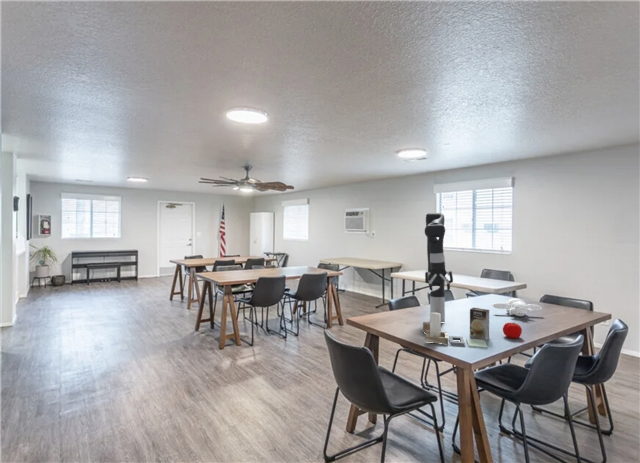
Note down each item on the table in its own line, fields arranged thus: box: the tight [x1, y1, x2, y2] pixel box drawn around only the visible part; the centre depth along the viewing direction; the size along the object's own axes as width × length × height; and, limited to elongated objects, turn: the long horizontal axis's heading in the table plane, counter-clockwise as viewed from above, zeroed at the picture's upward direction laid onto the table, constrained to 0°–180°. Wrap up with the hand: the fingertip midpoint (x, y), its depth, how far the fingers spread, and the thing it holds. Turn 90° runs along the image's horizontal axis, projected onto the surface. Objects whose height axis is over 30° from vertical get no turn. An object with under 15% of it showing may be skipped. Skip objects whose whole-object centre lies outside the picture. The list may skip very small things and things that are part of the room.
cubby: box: [425, 331, 449, 345], centre depth 192 cm, size 12×11×4 cm
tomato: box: [502, 322, 523, 339], centre depth 198 cm, size 9×10×8 cm
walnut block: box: [422, 321, 430, 333], centre depth 207 cm, size 4×4×6 cm
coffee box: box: [469, 307, 490, 341], centre depth 197 cm, size 9×6×16 cm
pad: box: [466, 338, 489, 349], centre depth 186 cm, size 12×9×1 cm
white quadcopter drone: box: [492, 297, 543, 317], centre depth 253 cm, size 24×30×11 cm
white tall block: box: [429, 312, 442, 337], centre depth 192 cm, size 6×6×15 cm
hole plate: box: [448, 335, 466, 347], centre depth 189 cm, size 12×7×2 cm, turn 163°
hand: (439, 290), depth 190 cm, fingers open, 8 cm apart
